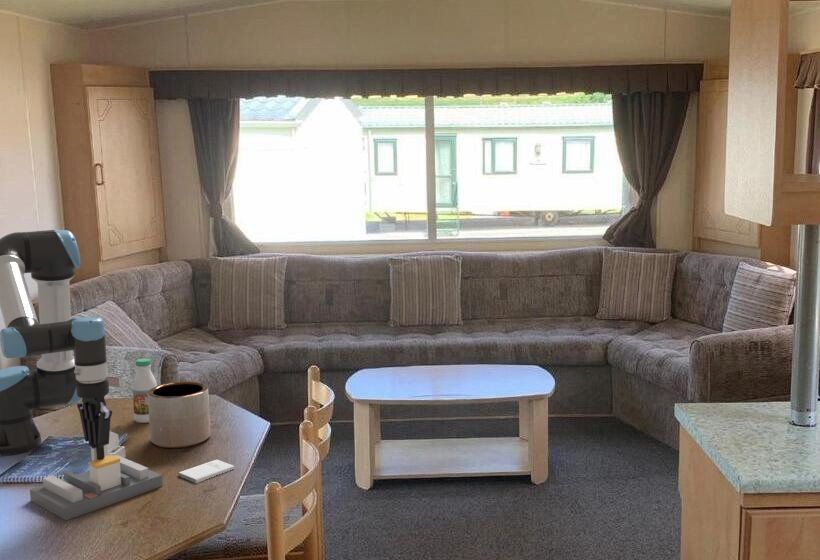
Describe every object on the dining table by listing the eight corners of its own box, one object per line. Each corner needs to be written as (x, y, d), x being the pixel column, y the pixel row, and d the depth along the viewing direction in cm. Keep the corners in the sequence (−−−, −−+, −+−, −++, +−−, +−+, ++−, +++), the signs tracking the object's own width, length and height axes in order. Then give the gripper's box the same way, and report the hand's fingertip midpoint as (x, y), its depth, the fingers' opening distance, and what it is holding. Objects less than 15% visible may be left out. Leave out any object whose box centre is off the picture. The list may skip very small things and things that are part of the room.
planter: (215, 444, 245) (212, 393, 243) (153, 453, 239) (149, 400, 237) (206, 426, 262) (204, 378, 259) (148, 434, 255) (144, 385, 253)
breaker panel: (30, 500, 207) (28, 480, 206) (125, 469, 227) (123, 450, 226) (66, 520, 196) (64, 498, 195) (162, 486, 215) (161, 466, 214)
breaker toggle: (90, 487, 207) (88, 461, 206) (113, 480, 211) (111, 454, 210) (99, 492, 204) (96, 465, 203) (121, 484, 209) (120, 458, 208)
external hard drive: (178, 477, 222) (216, 464, 231) (196, 485, 217) (234, 470, 226) (177, 472, 222) (216, 458, 231) (196, 479, 216) (234, 465, 226)
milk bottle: (134, 417, 272) (130, 358, 269) (159, 414, 274) (155, 356, 271) (134, 424, 265) (130, 363, 262) (159, 421, 267) (155, 361, 264)
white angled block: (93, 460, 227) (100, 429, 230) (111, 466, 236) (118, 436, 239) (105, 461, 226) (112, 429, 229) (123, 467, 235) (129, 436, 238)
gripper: (64, 378, 207) (72, 468, 210) (91, 387, 198) (98, 481, 202) (92, 372, 212) (99, 460, 216) (119, 380, 204) (126, 471, 208)
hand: (99, 470), depth 209 cm, fingers closed
